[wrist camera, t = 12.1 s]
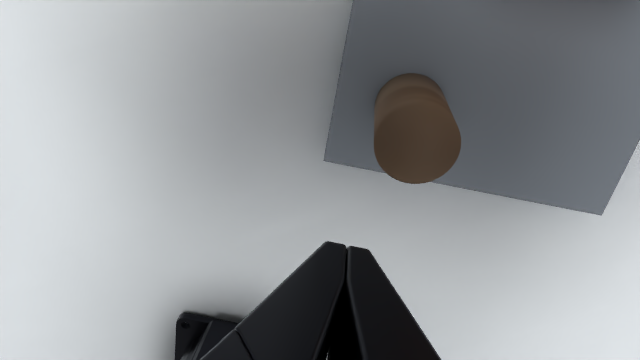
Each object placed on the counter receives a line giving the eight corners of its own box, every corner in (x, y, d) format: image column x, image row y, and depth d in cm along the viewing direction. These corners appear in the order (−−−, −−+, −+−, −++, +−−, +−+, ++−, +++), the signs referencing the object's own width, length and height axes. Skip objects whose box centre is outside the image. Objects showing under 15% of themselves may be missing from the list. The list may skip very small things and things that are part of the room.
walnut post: (434, 146, 20) (447, 190, 16) (367, 133, 20) (365, 174, 16) (454, 80, 18) (472, 112, 15) (382, 66, 19) (384, 95, 15)
